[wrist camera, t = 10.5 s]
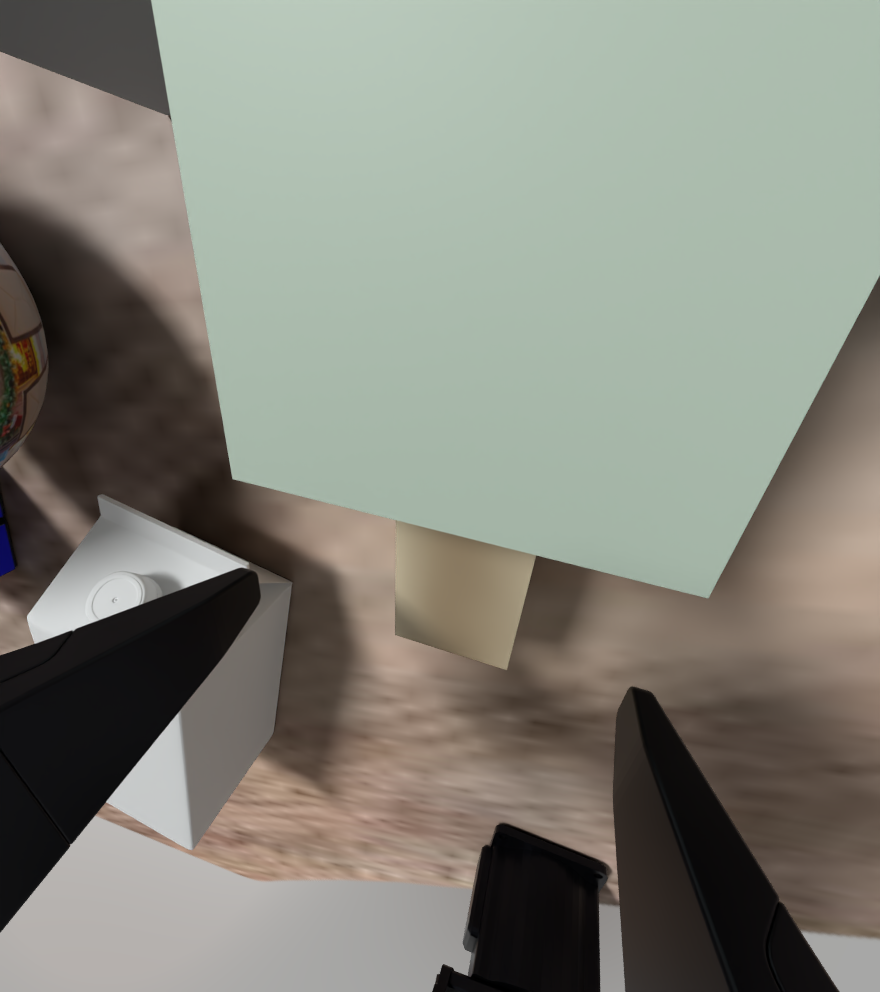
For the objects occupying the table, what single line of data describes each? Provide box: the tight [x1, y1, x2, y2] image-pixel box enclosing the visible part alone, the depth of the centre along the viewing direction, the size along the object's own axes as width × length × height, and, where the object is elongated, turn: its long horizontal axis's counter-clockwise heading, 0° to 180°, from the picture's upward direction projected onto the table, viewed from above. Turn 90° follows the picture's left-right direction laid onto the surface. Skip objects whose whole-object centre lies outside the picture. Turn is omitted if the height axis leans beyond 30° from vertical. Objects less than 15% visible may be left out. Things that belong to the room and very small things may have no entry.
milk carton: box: [27, 494, 293, 850], centre depth 22 cm, size 7×7×19 cm
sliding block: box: [151, 0, 880, 598], centre depth 9 cm, size 10×8×7 cm
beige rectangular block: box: [395, 520, 536, 670], centre depth 13 cm, size 4×11×4 cm, turn 175°
